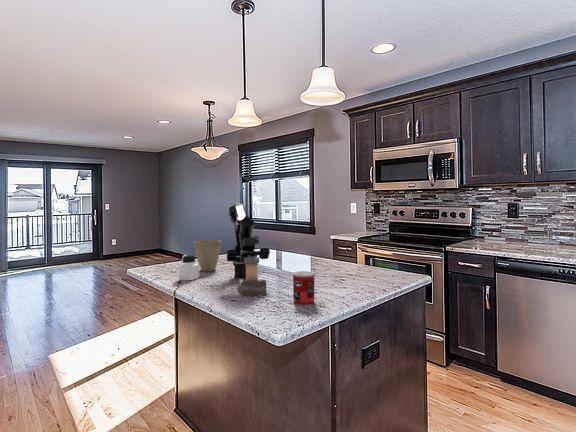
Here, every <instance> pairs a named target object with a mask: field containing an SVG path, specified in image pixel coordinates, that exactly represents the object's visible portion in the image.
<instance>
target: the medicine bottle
mask: <svg viewBox="0 0 576 432" xmlns="http://www.w3.org/2000/svg"><path fill="white" fill-rule="evenodd" d="M181 258H182V259H181V261H182V263H181V264H180V265H178V281H185V280H192V281H195V280H197V279H199V278H200V265H199V263H196V256H195V255H194V254H185V255H182V257H181ZM196 278H197V279H196ZM194 279H195V280H194Z"/></svg>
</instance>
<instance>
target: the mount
mask: <svg viewBox="0 0 576 432" xmlns="http://www.w3.org/2000/svg"><path fill="white" fill-rule="evenodd" d="M238 283H239V284H237V290H238V291H239V292H240V294H241V296H242V297H249V296H259V295H267V279H259V278H258V280H255V281H246V280H244V281H243V279H239V280H238Z"/></svg>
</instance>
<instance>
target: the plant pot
mask: <svg viewBox="0 0 576 432" xmlns="http://www.w3.org/2000/svg"><path fill="white" fill-rule="evenodd" d="M193 246H194V247H193V248H194V252H195V255H196V256H195V257H196V258H197V261H198V264H199V269H200V270H201V271H202V270H203V271H202V272H212V270H213V271H215V270H216V268H217V265H218V261H219V258H220V254H221V247H222V240H218V239H208V240H207V239H203V240H196V241H193Z"/></svg>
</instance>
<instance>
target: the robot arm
mask: <svg viewBox="0 0 576 432" xmlns="http://www.w3.org/2000/svg"><path fill="white" fill-rule="evenodd" d="M227 211H228V212H227V213H228V217H229V220H230V222H231V223H232V224H233V230H234V240H235V247H234V248H230V249H229V248H228V249H227V250H226V262H232V265H233V266H234V276H233V278H246V264H245V263H244V258H245V257H259V260H260V259H261V260H268V259H269V257H270V253H271V250H270V247H267V246H266V247H265V246H264V247H260V248H259V250H255V249H256V245H259V243H260V238H259V236H258V235H257V236H254V237H253V236H252V234H253V231H254V227H255V221H254V219H252V218H250V217H249V215H247V214H246V208H245V206H244V204H243V203H234V204H232V205H231V206H229V207H228V210H227Z"/></svg>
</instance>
